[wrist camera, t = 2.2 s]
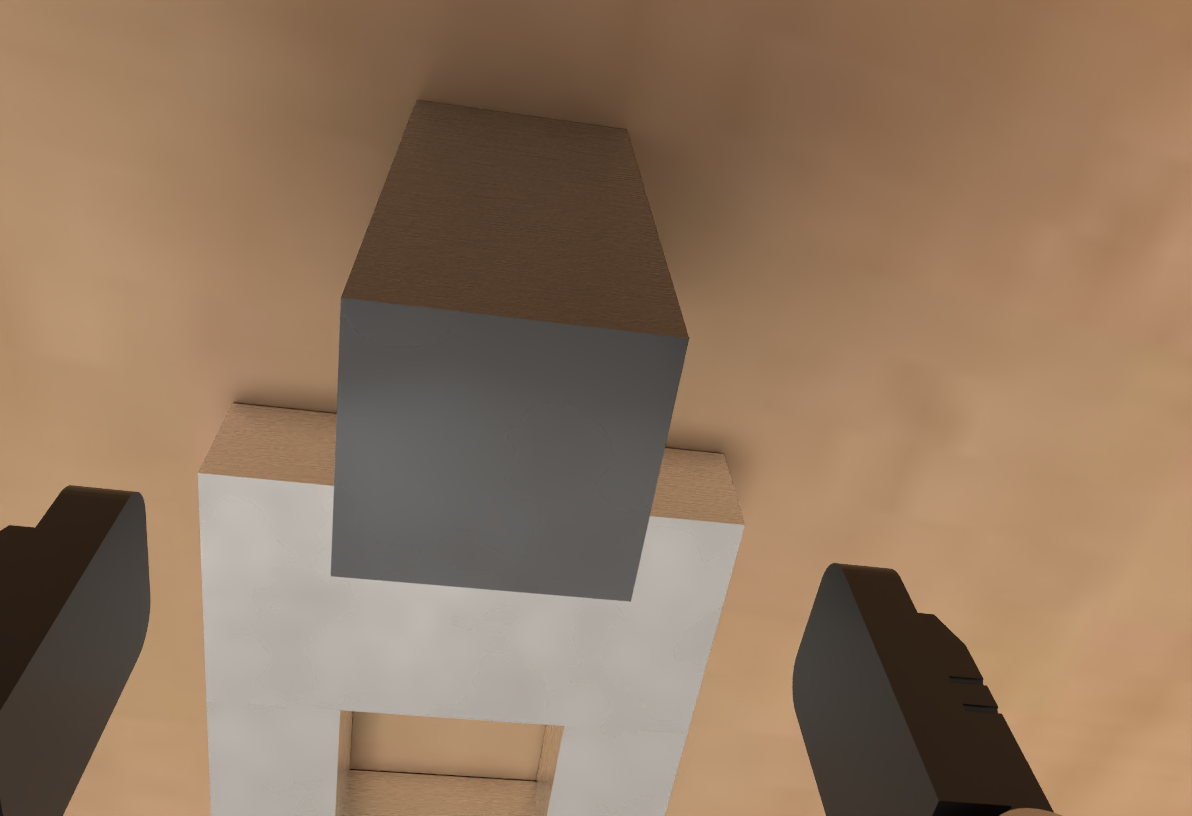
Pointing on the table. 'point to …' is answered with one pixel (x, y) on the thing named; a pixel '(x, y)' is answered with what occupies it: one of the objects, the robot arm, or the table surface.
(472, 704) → the square hole plate
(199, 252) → the table surface
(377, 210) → the square peg
